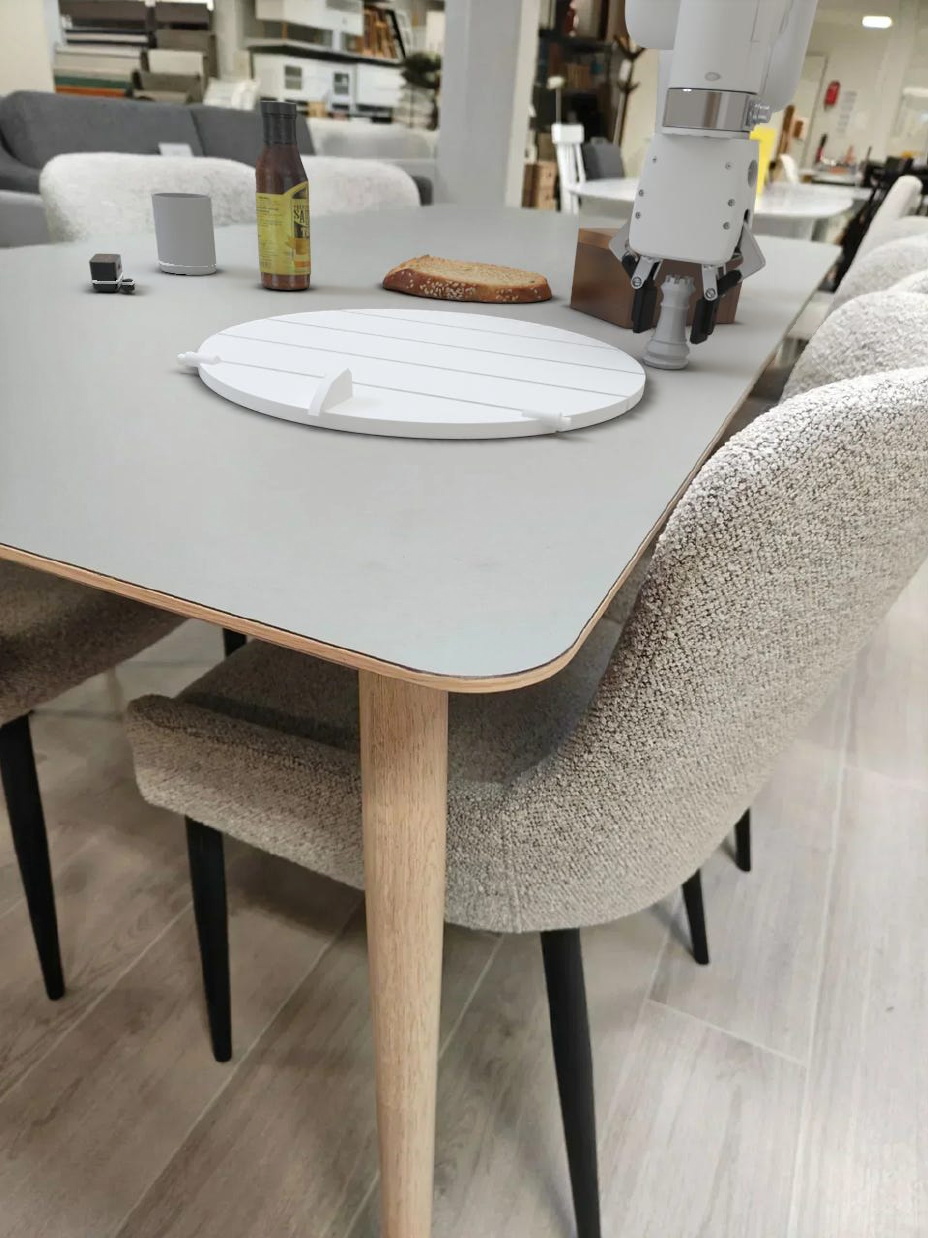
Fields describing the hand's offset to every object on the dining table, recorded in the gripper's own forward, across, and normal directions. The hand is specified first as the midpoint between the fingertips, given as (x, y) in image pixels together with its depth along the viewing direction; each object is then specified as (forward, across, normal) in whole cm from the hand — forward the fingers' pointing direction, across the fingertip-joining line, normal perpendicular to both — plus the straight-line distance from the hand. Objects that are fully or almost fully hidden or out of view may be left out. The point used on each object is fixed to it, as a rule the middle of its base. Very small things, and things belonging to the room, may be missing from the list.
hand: (670, 334), depth 82 cm
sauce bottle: (+3, +51, 0) cm, 51 cm away
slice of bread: (+3, +34, -16) cm, 38 cm away
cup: (+3, +67, 0) cm, 67 cm away
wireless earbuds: (+3, +61, +16) cm, 64 cm away
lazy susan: (+3, +16, +19) cm, 25 cm away
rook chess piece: (+3, 0, 0) cm, 3 cm away
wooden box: (+3, +11, -23) cm, 25 cm away
